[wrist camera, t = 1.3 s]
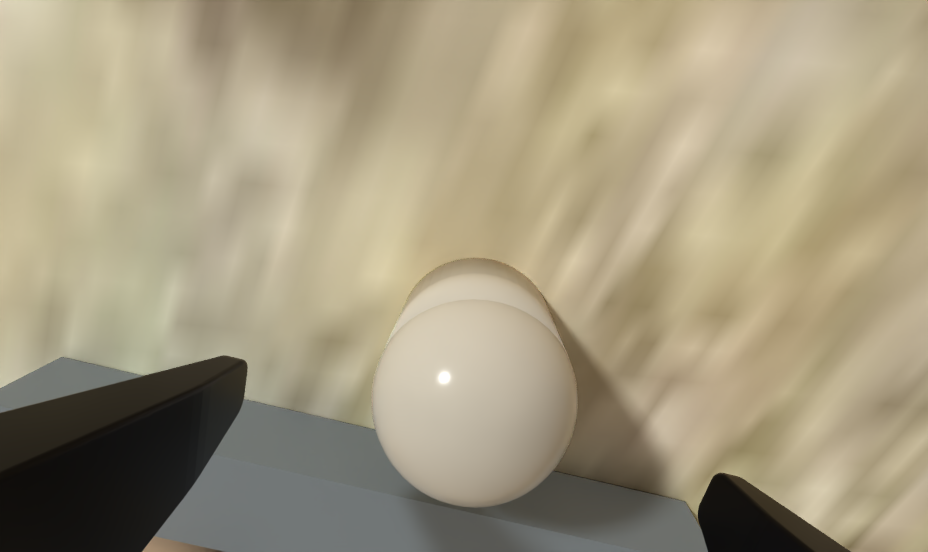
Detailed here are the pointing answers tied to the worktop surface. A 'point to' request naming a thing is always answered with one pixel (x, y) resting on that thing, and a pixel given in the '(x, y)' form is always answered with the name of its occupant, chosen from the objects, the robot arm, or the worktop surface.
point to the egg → (474, 386)
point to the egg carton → (367, 493)
